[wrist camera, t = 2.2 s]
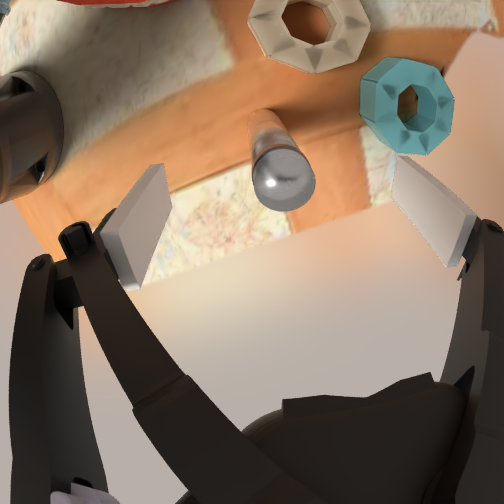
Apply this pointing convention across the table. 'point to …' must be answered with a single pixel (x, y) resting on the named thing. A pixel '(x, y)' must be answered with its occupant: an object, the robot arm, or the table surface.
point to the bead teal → (386, 103)
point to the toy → (115, 3)
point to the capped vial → (278, 164)
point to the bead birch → (304, 54)
